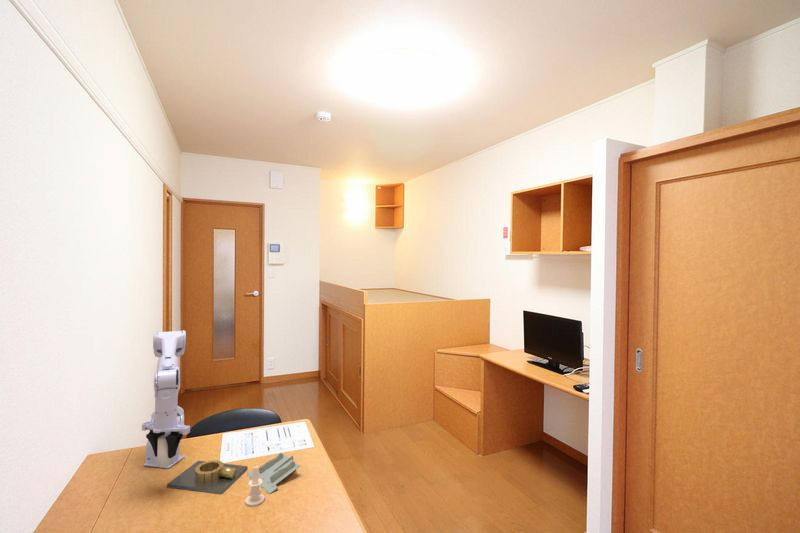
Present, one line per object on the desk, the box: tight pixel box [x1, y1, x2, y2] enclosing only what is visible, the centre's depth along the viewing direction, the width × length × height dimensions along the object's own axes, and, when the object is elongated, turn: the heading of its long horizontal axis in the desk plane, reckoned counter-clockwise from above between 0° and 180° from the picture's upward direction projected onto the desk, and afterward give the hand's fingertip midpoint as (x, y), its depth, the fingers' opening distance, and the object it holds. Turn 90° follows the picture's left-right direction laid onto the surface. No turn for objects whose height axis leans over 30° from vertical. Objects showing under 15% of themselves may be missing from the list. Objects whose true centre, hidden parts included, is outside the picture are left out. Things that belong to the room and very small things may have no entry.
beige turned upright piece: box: [244, 465, 265, 507], centre depth 111 cm, size 5×5×10 cm
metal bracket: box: [246, 452, 301, 495], centre depth 123 cm, size 14×6×15 cm
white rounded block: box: [156, 434, 173, 468], centre depth 114 cm, size 4×4×8 cm
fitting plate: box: [166, 459, 249, 495], centre depth 122 cm, size 18×14×4 cm
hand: (165, 455), depth 114 cm, fingers closed on white rounded block, 4 cm apart
